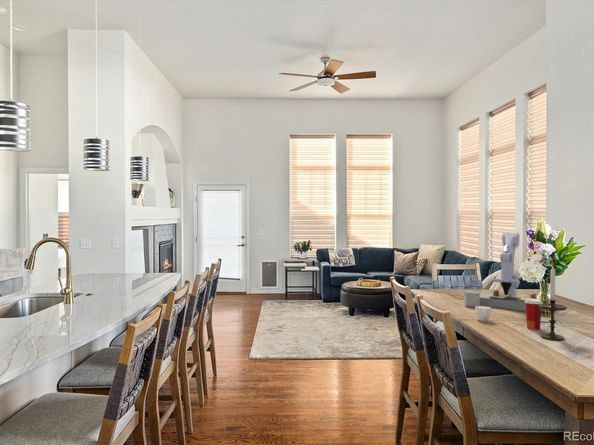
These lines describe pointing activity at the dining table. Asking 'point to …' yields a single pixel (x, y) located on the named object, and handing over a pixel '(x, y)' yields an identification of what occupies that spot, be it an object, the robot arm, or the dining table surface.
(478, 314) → the cup
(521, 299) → the ash panel
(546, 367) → the dining table surface
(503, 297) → the wooden sliding lid
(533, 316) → the paper cup
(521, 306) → the lid box
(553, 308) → the candlestick
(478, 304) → the medicine box
